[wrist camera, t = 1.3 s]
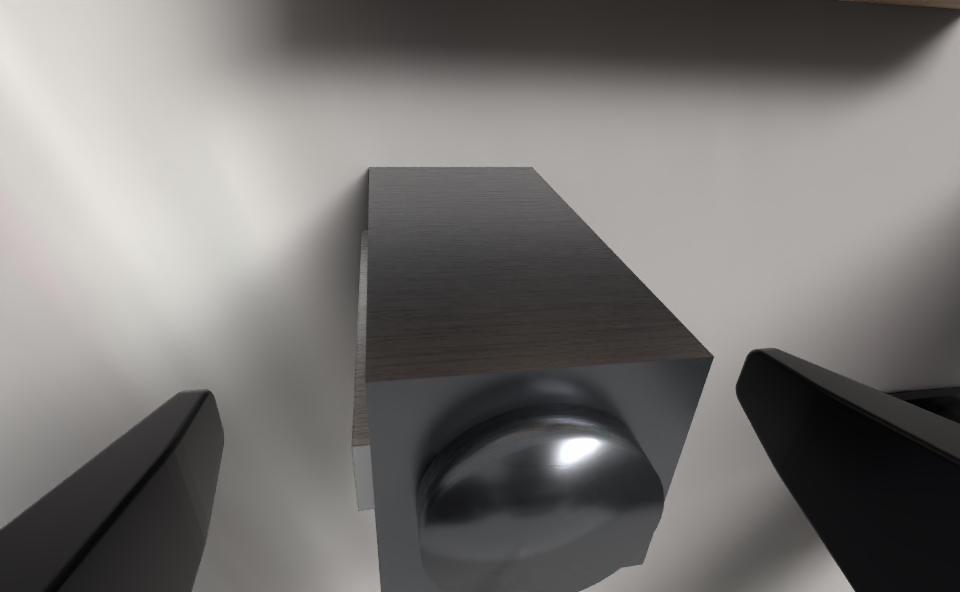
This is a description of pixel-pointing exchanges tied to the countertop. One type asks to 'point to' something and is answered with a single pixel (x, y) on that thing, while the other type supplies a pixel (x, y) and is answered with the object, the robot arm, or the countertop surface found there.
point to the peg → (509, 387)
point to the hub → (917, 3)
